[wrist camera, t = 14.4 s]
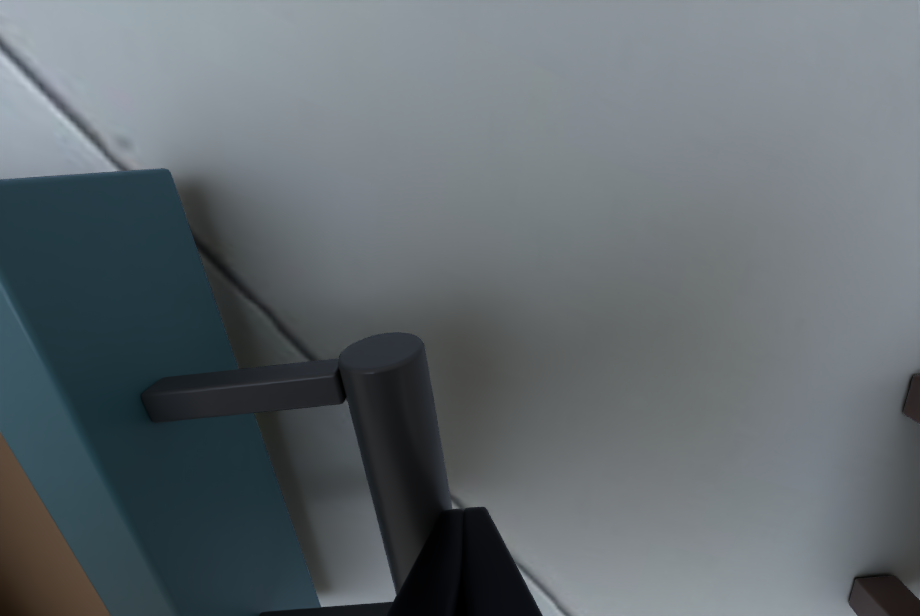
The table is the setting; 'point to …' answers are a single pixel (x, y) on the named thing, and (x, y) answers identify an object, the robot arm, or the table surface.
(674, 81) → the table surface
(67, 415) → the drawer
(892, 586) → the stool
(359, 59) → the table surface
